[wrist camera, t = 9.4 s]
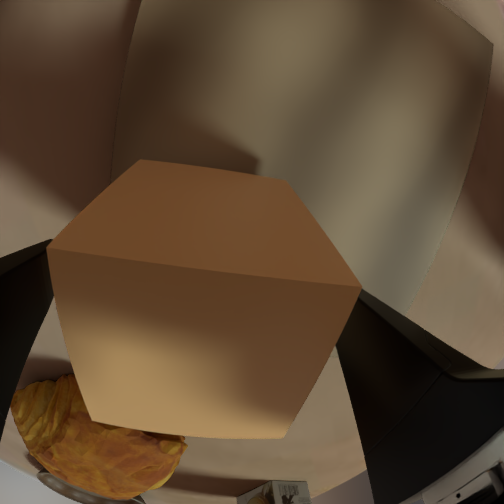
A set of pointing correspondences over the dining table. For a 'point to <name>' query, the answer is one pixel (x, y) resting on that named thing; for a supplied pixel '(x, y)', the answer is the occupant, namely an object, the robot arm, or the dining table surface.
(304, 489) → the coffee box
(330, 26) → the base board
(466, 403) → the robot arm
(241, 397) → the orange rectangular block
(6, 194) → the dining table surface
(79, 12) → the dining table surface
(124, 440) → the croissant
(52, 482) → the plant saucer
